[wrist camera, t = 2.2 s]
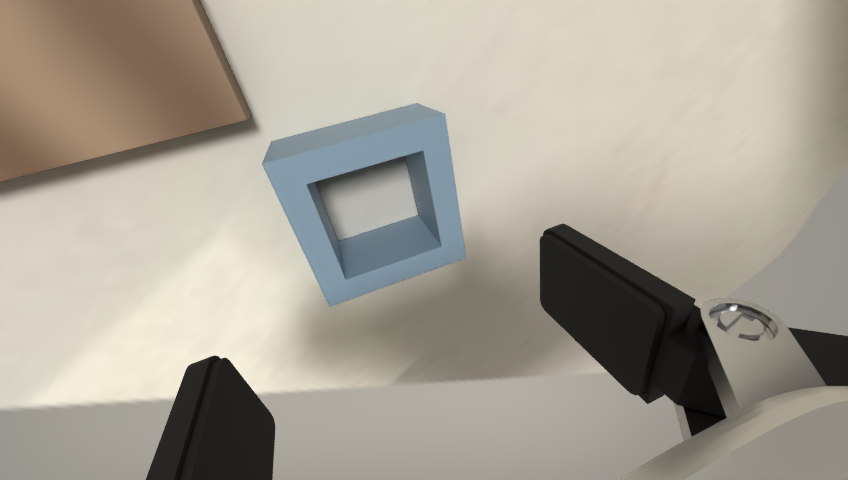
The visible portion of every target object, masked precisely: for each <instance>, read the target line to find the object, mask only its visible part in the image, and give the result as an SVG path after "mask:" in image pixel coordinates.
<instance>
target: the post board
mask: <svg viewBox="0 0 848 480" xmlns="http://www.w3.org/2000/svg"><path fill="white" fill-rule="evenodd" d="M251 115H252V114H251V112H250V110H249V108H248V105H247V103H246V101H245V99H244V97H243V94H242V92H241V90H240V88H239V86H238V83H237V81H236V79H235V77H234V74H233V72H232V70H231V68H230V66H229V63H228V61H227V59H226V57H225V55H224V52H223V50H222V48H221V46H220V44H219V41H218V39H217V37H216V35H215V33H214V30H213V28H212V26H211V24H210V22H209V19H208V17H207V15H206V13H205V11H204V8H203V6H202V4H201V2H200V0H0V181H4V180H8V179H12V178H16V177H20V176H24V175H28V174H32V173H36V172H40V171H44V170H48V169H52V168H56V167H60V166H64V165H68V164H72V163H76V162H80V161H84V160H88V159H92V158H96V157H100V156H104V155H108V154H113V153H117V152H121V151H125V150H129V149H133V148H137V147H141V146H145V145H149V144H153V143H157V142H161V141H165V140H169V139H173V138H177V137H181V136H185V135H189V134H193V133H197V132H201V131H205V130H209V129H213V128H217V127H221V126H225V125H229V124H233V123H237V122H241V121H245V120H248V119H249V117H250V116H251Z"/></svg>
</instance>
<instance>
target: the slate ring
mask: <svg viewBox="0 0 848 480" xmlns="http://www.w3.org/2000/svg"><path fill="white" fill-rule="evenodd" d="M402 156H405V157H406V162H407V166H408V170H409V175H410V179H411V184H412V188H413V193H414V197H415V202H416V206H417V211H418V216H415V217H411V218H408V219H405V220H402V221H399V222H396V223H393V224H390V225H387V226H384V227H381V228H378V229H375V230H372V231H368V232H365V233H362V234H359V235H356V236H353V237H350V238H347V239H344V240H341V241H338V239H337V237H336V234H335V232H334V229H333V226H332V224H331V221H330V219H329V216H328V214H327V211H326V209H325V206H324V204H323V201H322V199H321V196H320V194H319V191H318V189H317V186H316V183H315V182H316V181H319V180H323V179H326V178H330V177H333V176H337V175H340V174H344V173H347V172H350V171H354V170H357V169H361V168H364V167H368V166H371V165H375V164H378V163H381V162H385V161H388V160H392V159H395V158H399V157H402ZM262 165H263V167H264V169H265V171H266V174H267V176H268V178H269V180H270V182H271V184H272V186H273V188H274V190H275V193H276V195H277V197H278V199H279V201H280V203H281V205H282V207H283V209H284V212H285V214H286V216H287V218H288V220H289V222H290V224H291V226H292V228H293V231H294V233H295V235H296V237H297V239H298V241H299V243H300V245H301V247H302V250H303V252H304V254H305V256H306V258H307V260H308V262H309V264H310V266H311V269H312V271H313V273H314V275H315V277H316V279H317V281H318V283H319V285H320V288H321V290H322V292H323V294H324V296H325V298H326V300H327V302H328V304H329V306H333V305H336V304H339V303H342V302H344V301H347V300H350V299H353V298H356V297H358V296H361V295H364V294H367V293H369V292H372V291H375V290H378V289H381V288H383V287H386V286H389V285H392V284H394V283H397V282H400V281H403V280H406V279H408V278H411V277H414V276H417V275H420V274H422V273H425V272H428V271H431V270H433V269H436V268H439V267H442V266H445V265H447V264H450V263H453V262H456V261H458V260H461V259H464V258H466V253H465V247H464V240H463V233H462V226H461V219H460V212H459V206H458V199H457V192H456V185H455V178H454V171H453V165H452V158H451V151H450V144H449V137H448V131H447V124H446V117H445V114H444V113H441V112H438V111H436V110H433V109H430V108H428V107H425V106H422V105H420V104H417V103H416V104H413V105H409V106H405V107H401V108H397V109H394V110H390V111H386V112H382V113H378V114H375V115H371V116H367V117H363V118H359V119H355V120H352V121H348V122H344V123H340V124H336V125H333V126H329V127H325V128H321V129H317V130H314V131H310V132H306V133H302V134H298V135H295V136H291V137H287V138H283V139H279V140H276V141H272V142H271V143H270V146H269V148H268V151H267V153H266V155H265V158H264V160H263V163H262Z"/></svg>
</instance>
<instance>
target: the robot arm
mask: <svg viewBox="0 0 848 480" xmlns="http://www.w3.org/2000/svg"><path fill="white" fill-rule="evenodd" d="M695 300H696V299H694V298H692V297H691V296H689V295H687V294H685V293H684V292H682V291H680V290H678V289H677V288H675V287H673V286H671V285H670V284H668V283H666V282H665V281H663V280H661V279H659V278H658V277H656V276H654V275H652V274H651V273H649V272H647V271H645V270H644V269H642V268H640V267H639V266H637V265H635V264H633V263H632V262H630V261H628V260H626V259H625V258H623V257H621V256H619V255H618V254H616V253H614V252H613V251H611V250H609V249H607V248H606V247H604V246H602V245H600V244H599V243H597V242H595V241H593V240H592V239H590V238H588V237H587V236H585V235H583V234H581V233H580V232H578V231H576V230H574V229H573V228H571V227H569V226H568V225H565V224H560V225H557V226H554V227H552V228H549V229H547V230H545V231H544V233H543V236H542V237H541V238H540V302H541V305H542V307H543V308H544V310H545V311H546V312H547V313H548V314H549V315H550V316H551V317H552V318H553V319H554V320H555V321H556V322H557V323H558V324H559V325H560V326H561V327H563V328H564V329H565V330H566V331H567V332H568V333H569V334H570V335H571V336H572V337H573V338H574V339H575V340H576V341H577V342H578V343H579V344H580V345H581V346H582V347H583V348H584V349H585V350H586V351H587V352H588V353H589V354H590V355H591V356H592V357H593V358H594V359H595V360H596V361H597V362H599V363H600V364H601V365H602V366H603V367H604V368H605V369H606V370H607V371H608V372H609V373H610V374H611V375H612V376H613V377H614V378H615V379H616V380H617V381H618V382H619V383H620V384H621V385H622V386H623V387H624V388H625V389H626V390H627V391H629V392H630V393H631V394H634V395H639V396H640V397H641V398H642V399H643V400H644V401H645V402H646V403H647V404H649V403H651V402H652V401H654V400H656V399H658V398H660V397H662V396H663V395H664V394H665V395H666V396H667V397H669V398H670V399H671V400H672V401H673V402H674V406H675V410H676V413H677V417H678V421H679V425H680V428H681V432H682V436H683V440H684V441H683V442H681V443H680V444H678V445H676V446H674V447H673V448H671V449H669V450H667V451H666V452H664V453H662V454H661V455H659V456H657V457H655V458H654V459H652V460H650V461H648V462H647V463H645V464H643V465H641V466H640V467H638V468H636V469H634V470H633V471H631V472H629V473H627V474H626V475H624V476H622V477H620V478H619V479H617V480H848V336H843V335H836V334H829V333H822V332H815V331H808V330H802V329H794V328H788V327H787V326H786V325H785V324H784V323H783V322H782V321H781V319H780V318H779V317H777V316H776V315H774V314H773V313H771V312H770V311H768V310H766V309H764V308H762V307H760V306H758V305H755V304H752V303H749V302H746V301H742V300H736V299H714V300H710V301H708V302H706V303H705V304H703V306H702V308H701V309H700V308H698V307H697V306H695V305H694V303H695ZM274 440H275V422H274V418H273V416H272V415H271V413H270V412H269V410H268V409H267V408H266V407H265V405H264V404H263V403H262V402H261V400H260V399H259V398H258V396H257V395H256V394H255V393H254V391H253V390H252V389H251V387H250V386H249V385H248V384H247V382H246V381H245V380H244V379H243V377H242V376H241V375H240V373H239V372H238V371H237V370H236V368H235V367H234V366H233V364H232V363H231V362H230V361H229V360H228V359H227V358H222V359H220V358H219V357H218V356H212V357H209V358H206V359H204V360H201V361H198V362H196V363H193V364H191V365H189V366H188V367H187V369H186V372H185V374H184V377H183V380H182V382H181V385H180V388H179V391H178V393H177V396H176V399H175V401H174V404H173V407H172V410H171V412H170V415H169V418H168V421H167V424H166V426H165V429H164V431H163V435H162V437H161V440H160V442H159V445H158V448H157V450H156V453H155V456H154V459H153V462H152V464H151V467H150V470H149V472H148V475H147V478H146V480H272V474H273V458H274Z"/></svg>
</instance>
